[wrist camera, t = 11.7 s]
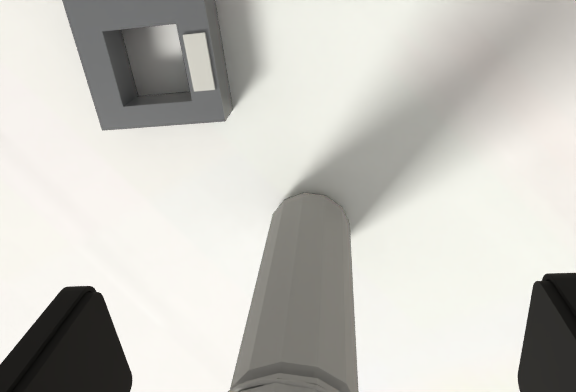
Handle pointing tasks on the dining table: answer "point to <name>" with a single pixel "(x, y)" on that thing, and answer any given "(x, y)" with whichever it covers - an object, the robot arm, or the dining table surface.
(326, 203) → the water bottle
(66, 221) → the dining table surface
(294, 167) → the dining table surface
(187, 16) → the panel
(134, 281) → the dining table surface
